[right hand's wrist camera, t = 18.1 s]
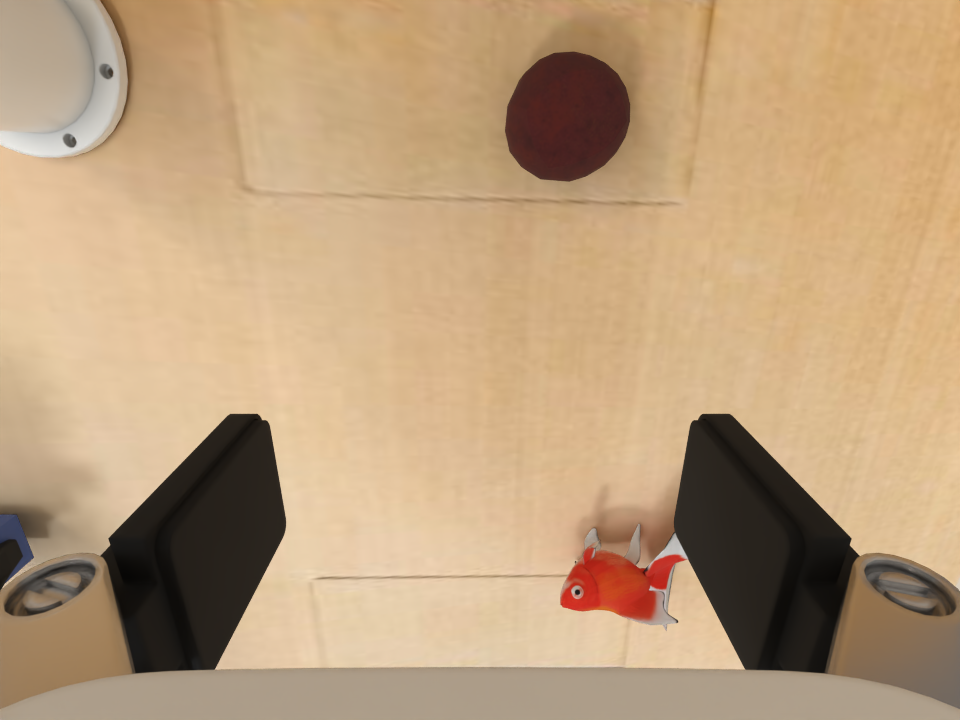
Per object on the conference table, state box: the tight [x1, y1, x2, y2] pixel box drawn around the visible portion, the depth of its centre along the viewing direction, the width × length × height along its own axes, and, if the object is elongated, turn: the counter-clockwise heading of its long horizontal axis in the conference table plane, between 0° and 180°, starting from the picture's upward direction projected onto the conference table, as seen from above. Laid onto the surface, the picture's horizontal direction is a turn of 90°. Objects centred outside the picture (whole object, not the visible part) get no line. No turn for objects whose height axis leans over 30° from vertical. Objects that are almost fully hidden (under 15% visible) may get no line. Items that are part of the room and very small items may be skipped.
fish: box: [560, 524, 688, 631], centre depth 45 cm, size 11×16×10 cm
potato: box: [505, 52, 630, 181], centre depth 32 cm, size 7×8×7 cm
